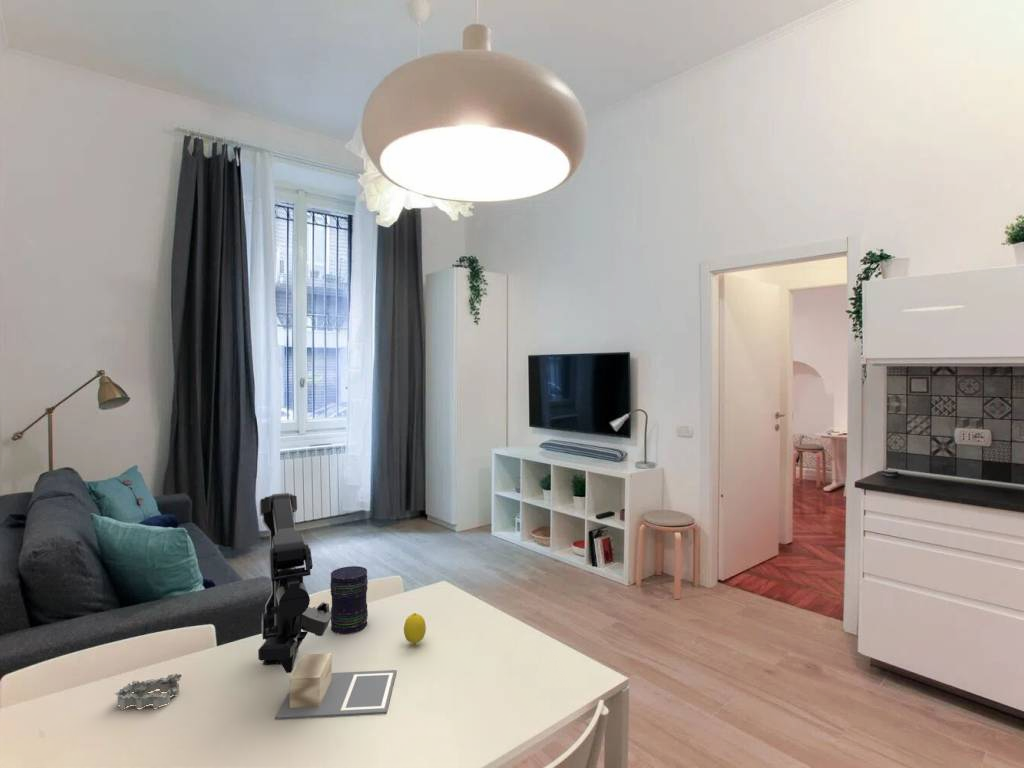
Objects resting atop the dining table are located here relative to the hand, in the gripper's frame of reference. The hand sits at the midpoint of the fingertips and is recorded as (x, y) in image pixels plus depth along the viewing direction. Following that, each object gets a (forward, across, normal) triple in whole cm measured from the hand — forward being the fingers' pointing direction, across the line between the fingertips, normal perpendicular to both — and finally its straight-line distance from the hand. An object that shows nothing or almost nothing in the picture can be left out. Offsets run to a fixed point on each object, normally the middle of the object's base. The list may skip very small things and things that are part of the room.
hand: (289, 671), depth 117 cm
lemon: (+6, +21, -24) cm, 33 cm away
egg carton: (+6, +1, +29) cm, 30 cm away
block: (+5, 0, -5) cm, 7 cm away
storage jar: (+5, +33, -5) cm, 34 cm away
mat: (+5, 0, -11) cm, 12 cm away
